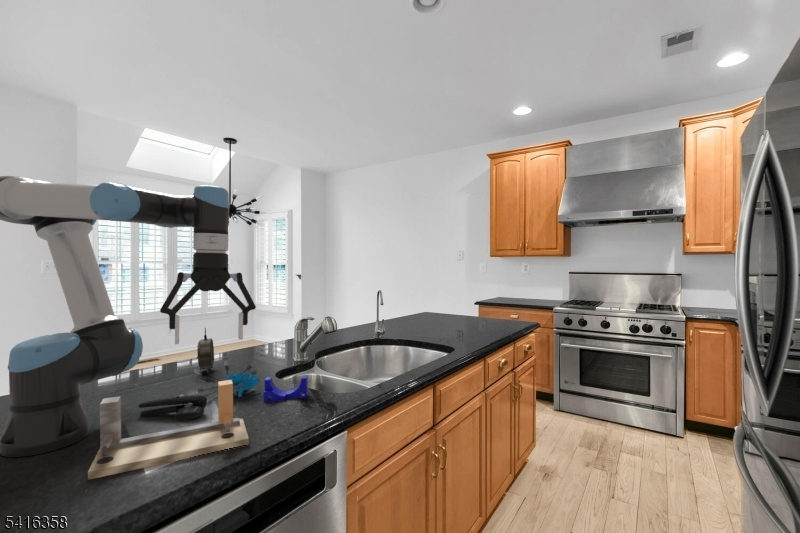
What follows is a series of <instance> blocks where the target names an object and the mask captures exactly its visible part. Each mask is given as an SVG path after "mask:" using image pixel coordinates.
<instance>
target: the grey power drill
mask: <svg viewBox="0 0 800 533" xmlns="http://www.w3.org/2000/svg"><path fill="white" fill-rule="evenodd" d="M214 347H215V346H214V341H213V338H212V337H211V338H208V336H207V328H206V327H204V335H203V339H200V340H199V341H198V343H197V351H196V352H197V356H196V359H197V362H198V363H197V365H198V367H199V370H198V372H200V371H201V370H206V374H207V375H210V373H209V372H210V370H211V369H214V367H215V350H214Z"/></svg>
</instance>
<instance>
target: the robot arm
mask: <svg viewBox="0 0 800 533" xmlns="http://www.w3.org/2000/svg"><path fill="white" fill-rule="evenodd" d="M229 196H230V194H229V191H228V190H227V188H223V187H220V186H216V185H208V184H205V185H203V184H202V185H201V184H200V185H197V186H195V187H194V188H193V194H192V195H173V194H169V193H164V192H159V191H153V190H147V189H144V188H139V187H134V186H129V185H127V184H123V183H119V182H118V183H115V182H101V183H99V184H83V183H81V184H80V183H56V182H51V181H50V182H49V181H44V180H40V179H33V178H28V177H23V176H15V175H1V176H0V221H3V222H7V223H11V224H17V225H28V226H33V227H34V230H35V234H36V236H37V237H38V238H40V239H41V240H44V241H46V243H47V245H48V250H49V252H50V254H51V257H52V258H51V259H52V261H53V264H54V268H55V270H56V273H57V277H58V279H59V282H60V286H61V289H62V291H63V295H64V299H65V302H66V304H67V306H68V307H67V308H68V311H69V313H70V316H71V320H72V322H73V328H72V329H71V330H70V332H58V333H53V334H45V335H40V336H37V337H33V338H29V339H27V340H24V341H21V342H19V343H16V345H14V347H12V348H11V349H10V350H9V358H8V365H7V370H8V381H9V382H8V387H9V390H8V392H9V414H8V417H7V420H6V423H5V425H4V428H3V431H2V433H1V436H0V456H2V457H6V458H20V457H21V458H22V457H30V456H35V455H41V454H45V453H49V452H54V451H56V450H59V449H62V448H65V447H69V446H70V445H73V444H75V443H77V442H79V441H81V440H83V439H84V438H86V437H87V436H88V435H89V434H90V433H91V422H90V419H89V416H88V415H87V412H86V411H85V409H84V407H83V404H82V401H81V386H82V385H85V384H88V383H92V382H95V381H99V380H103V379H106V378H110V377H114V376H117V375H120V374H122V373H125V372H127V371H130V370H131V369H133V368H134V367H135V366H136V365H137V364H138V363H139V361H140V358H141V357H142V355H143V349H144V345H143V344H144V343H143V338H142V336H141V334H140V333H139V332H138V331H137V330H135V328H133V327H132V328H131V327H126V326H127V325H126V323H125V320H124V318H122V317H119V316H118V315H115V311H114V310H113V306H112V303H111V300H110V297H109V294H108V290H107V287H106V285H105V282H104V278H103V276H102V273H101V268H100V267H99V263H98V260H97V257H96V255H95V252H94V248H93V246H92V243H91V239H90V237H89V235H90V233H92V231H93V229H94V227H93V225H95V224H96V223H97V221H98V220H99V221H110V222H126V223H127V222H128V223H137V224H146V225H154V226H157V227H161V228H169V229H170V228H172V229H173V228H190V227H191V228H193V236H192V237H193V240H192V241H193V242H192V243H193V245H192V247H193V248H192V249H193V250H194V251H195V252H194V253H193V255H192V272H191V273H187V272H182V271H179V272H178V273H177V278H176V282H175V284H174V285H173V287H172V289H171V291H170V292H169V294H168V295H167V297H166V299H165V301H164V303H163V305H162V306H161V308H160V309H159V311H160V313H161V314H167V315H168V317H169V319H168V320H169V322H168V325H169V327H168V328H169V330H174V345H179V344H180V313H178V312H179V311H180V309H182V308H183V307H184V306H185V305H186V304H187V302H188V301H189V300H190V299H192V297H194V295H195V294H196V293H197V292H199V290H200V291H202V292H210V291H212V292H219V291H221V290H222V291H223V292H224V293H225V294H227V296H228V297H229V298H230V299H231V300H232V301H233V302H234V304H236V305H237V306H238V308H239V309H240V310H241V311H238V325H237V326H238V328H237V330H238V332H237V333H238V334H237V335H238V340H243V339H244V338H243V337H244V333H243V332H244V326H248V323H249V320H248V319H249V312H250V311H252V310H253V311H254V310H256V308H257V306H256V304H255V302H254V300H253V299H252V296H251V295H250V292H249V290H248V289H247V287H246V285H245V283H244V281H243V274H242V272H240V271H238V272H234V273H230V271H229V254H228V253H227V252H228V251H229V222H230V220H229V219H230V208H231V206H230V197H229ZM189 279H190V280H191V281H192V282H193V283H194V285H193V286H192V287H191V288H190V289H189V290H188V292H187V293H186V294H184V296H182V298H181V299H180V300H178V302H177V303H176V304H175V305H174V306H173V307H172V308H171V307H170V305H171V304H172V302H173V300H174V299H175V297H176V296H177V293H178V292H179V290H180V289H181V286H182V285H183V283H185V282H188V281H187V280H189ZM230 279H232V281H233V282H235V283H237V286H238V287H239V290H240V292H241V294H242V296H244V298H245V301H246V303H247V305H245V304H244V303H243V302H242V301H241V299H239V298H238V297H237V296H236V294H235V293H234V292H233V291H232V289H230V288H229V286H227V282H229V280H230Z"/></svg>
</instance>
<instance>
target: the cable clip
mask: <svg viewBox="0 0 800 533" xmlns="http://www.w3.org/2000/svg"><path fill="white" fill-rule="evenodd" d="M308 392H309V391H308V375H301V378H300V383H299V384H298V386H296V387H295V388H294V389H292V390H291V389H290V390H282V389H279V388H278V387H277V386H276V385H275V383H274V382H273V377H272V376H266V378H264V390H263V395H262V396H263V402H264V403H265V402H267V403H269V402H286V400H288V399H289V400H290V399H291V400H292V399H306V398H308Z"/></svg>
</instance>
